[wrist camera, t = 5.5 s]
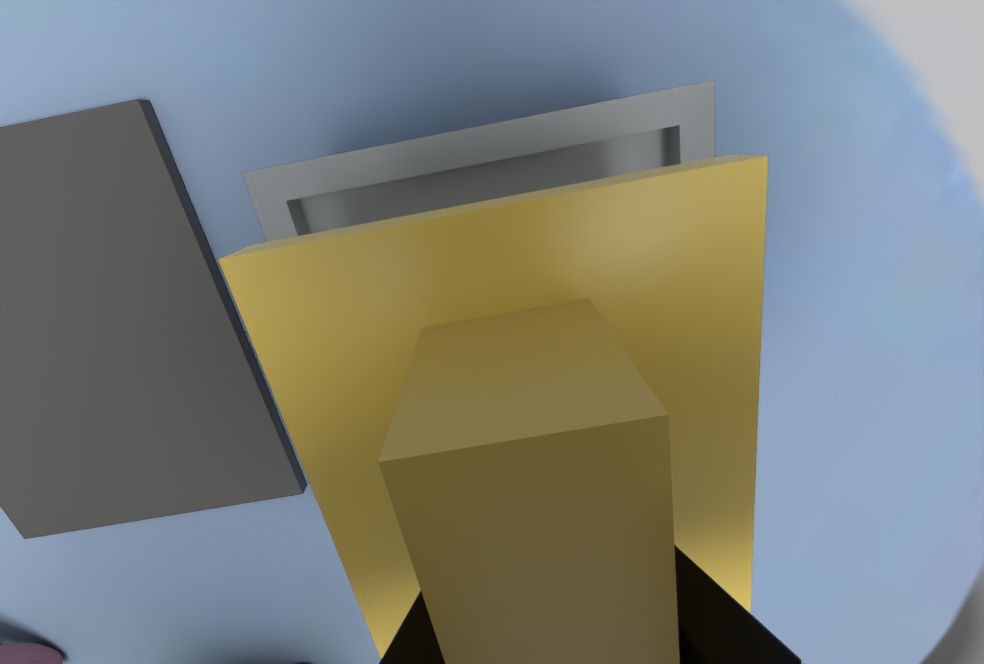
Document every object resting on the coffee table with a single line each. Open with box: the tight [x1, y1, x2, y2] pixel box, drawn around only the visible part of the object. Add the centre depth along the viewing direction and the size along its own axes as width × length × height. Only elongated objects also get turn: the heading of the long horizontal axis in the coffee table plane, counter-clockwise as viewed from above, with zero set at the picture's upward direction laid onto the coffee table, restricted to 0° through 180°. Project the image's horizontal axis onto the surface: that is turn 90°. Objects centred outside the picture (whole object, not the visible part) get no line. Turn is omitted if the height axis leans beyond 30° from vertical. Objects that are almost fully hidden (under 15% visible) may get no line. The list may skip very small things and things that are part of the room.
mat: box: [0, 99, 307, 539], centre depth 20 cm, size 14×17×1 cm
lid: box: [218, 154, 768, 664], centre depth 8 cm, size 8×12×4 cm
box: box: [242, 80, 715, 242], centre depth 17 cm, size 11×15×7 cm
